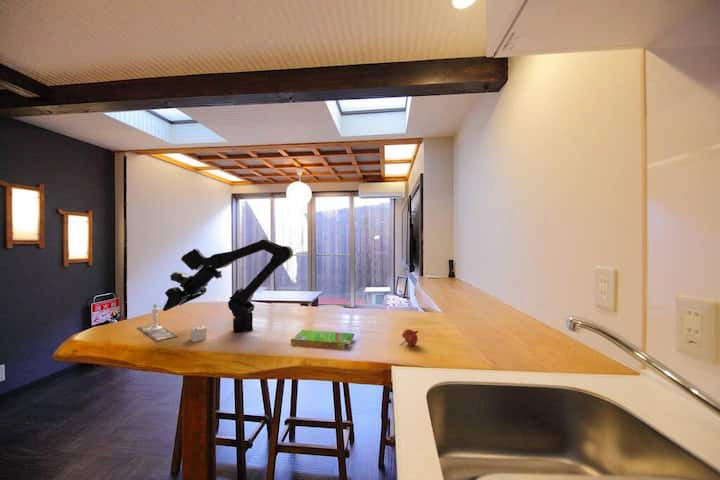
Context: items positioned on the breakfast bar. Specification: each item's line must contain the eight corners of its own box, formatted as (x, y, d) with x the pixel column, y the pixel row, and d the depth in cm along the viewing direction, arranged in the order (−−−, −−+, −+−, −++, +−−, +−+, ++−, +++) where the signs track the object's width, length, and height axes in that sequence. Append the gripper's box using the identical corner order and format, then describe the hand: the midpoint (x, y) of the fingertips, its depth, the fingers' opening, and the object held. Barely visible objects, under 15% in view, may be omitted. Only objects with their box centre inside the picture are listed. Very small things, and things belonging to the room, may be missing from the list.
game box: (302, 337, 99) (355, 339, 95) (290, 348, 89) (349, 350, 86) (302, 329, 99) (355, 330, 95) (290, 339, 89) (349, 340, 86)
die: (202, 336, 96) (203, 325, 96) (206, 339, 93) (206, 327, 94) (190, 339, 93) (190, 327, 93) (193, 342, 91) (193, 330, 91)
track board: (177, 336, 95) (177, 335, 95) (156, 341, 90) (156, 341, 90) (157, 324, 109) (157, 323, 109) (137, 328, 104) (137, 327, 104)
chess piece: (165, 328, 103) (166, 303, 103) (152, 332, 98) (152, 305, 98) (156, 327, 104) (157, 302, 104) (143, 331, 100) (143, 304, 100)
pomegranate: (405, 354, 87) (424, 340, 86) (394, 339, 88) (413, 326, 87) (405, 349, 92) (422, 336, 92) (395, 335, 93) (412, 323, 93)
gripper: (199, 262, 112) (171, 288, 111) (171, 266, 93) (137, 297, 92) (218, 280, 112) (191, 306, 111) (194, 288, 94) (161, 319, 93)
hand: (171, 307), depth 102 cm, fingers open, 9 cm apart
